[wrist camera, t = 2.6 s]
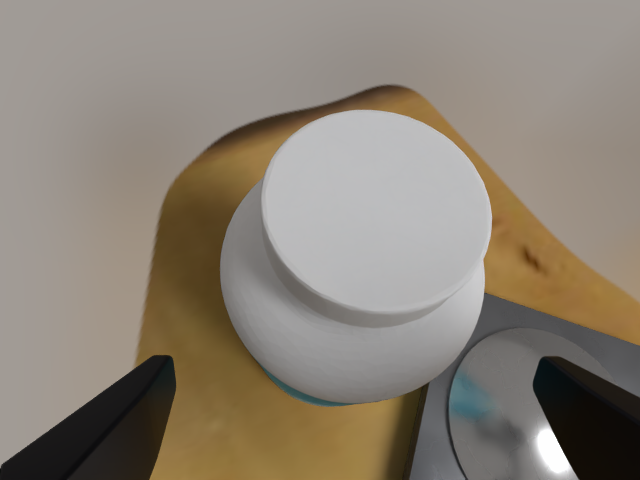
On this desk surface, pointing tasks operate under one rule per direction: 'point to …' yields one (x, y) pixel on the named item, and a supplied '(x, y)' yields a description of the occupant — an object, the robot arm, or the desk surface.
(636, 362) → the flange plate
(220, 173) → the desk surface
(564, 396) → the robot arm
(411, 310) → the pill bottle
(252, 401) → the desk surface
